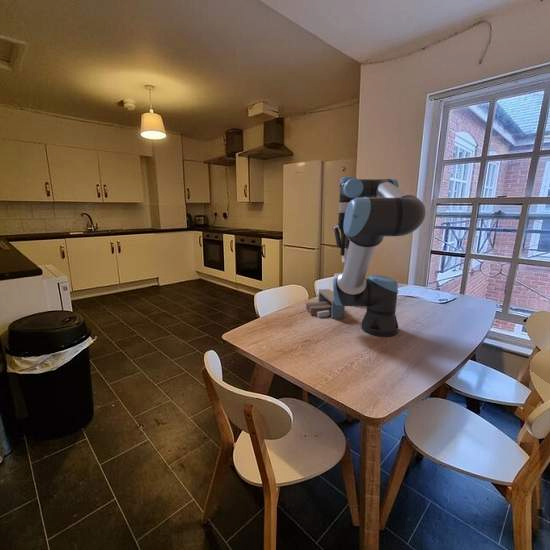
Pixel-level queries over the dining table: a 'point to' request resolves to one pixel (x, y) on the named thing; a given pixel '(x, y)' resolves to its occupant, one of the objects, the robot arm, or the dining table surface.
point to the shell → (318, 307)
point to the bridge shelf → (329, 296)
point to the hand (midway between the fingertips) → (344, 262)
